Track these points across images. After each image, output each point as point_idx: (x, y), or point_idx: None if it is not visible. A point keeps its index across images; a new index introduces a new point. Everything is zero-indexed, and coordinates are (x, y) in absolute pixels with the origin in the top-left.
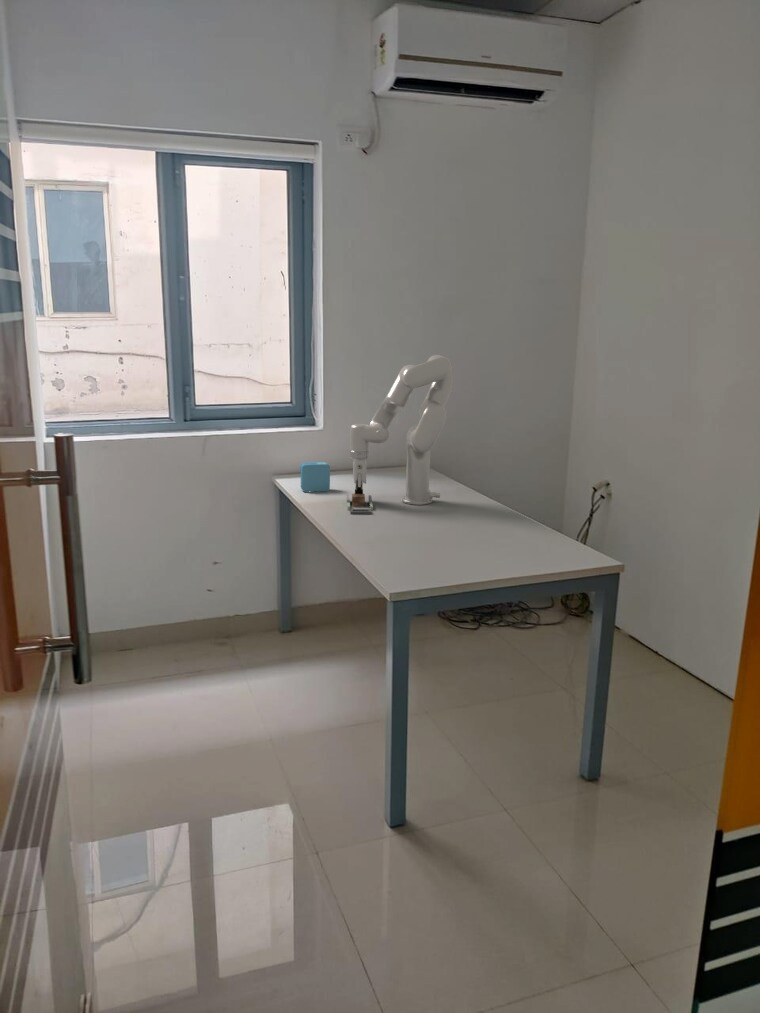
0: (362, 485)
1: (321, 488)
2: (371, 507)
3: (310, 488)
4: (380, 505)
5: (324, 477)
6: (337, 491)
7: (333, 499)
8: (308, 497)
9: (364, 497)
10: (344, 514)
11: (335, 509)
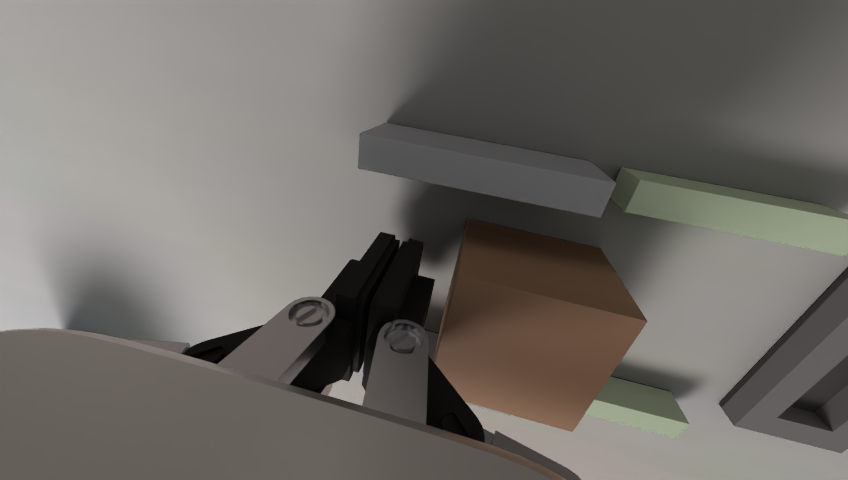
0: (428, 409)
1: None
2: (841, 237)
3: None
4: (624, 34)
5: None
6: (100, 304)
7: None
8: None
9: (640, 319)
10: (785, 458)
11: (593, 453)
